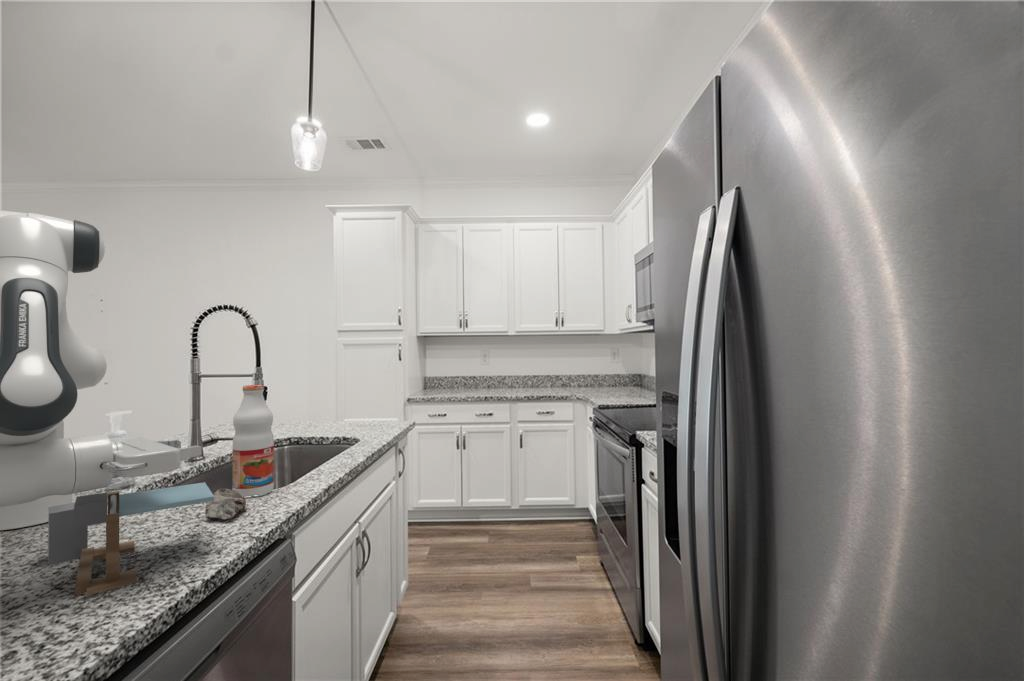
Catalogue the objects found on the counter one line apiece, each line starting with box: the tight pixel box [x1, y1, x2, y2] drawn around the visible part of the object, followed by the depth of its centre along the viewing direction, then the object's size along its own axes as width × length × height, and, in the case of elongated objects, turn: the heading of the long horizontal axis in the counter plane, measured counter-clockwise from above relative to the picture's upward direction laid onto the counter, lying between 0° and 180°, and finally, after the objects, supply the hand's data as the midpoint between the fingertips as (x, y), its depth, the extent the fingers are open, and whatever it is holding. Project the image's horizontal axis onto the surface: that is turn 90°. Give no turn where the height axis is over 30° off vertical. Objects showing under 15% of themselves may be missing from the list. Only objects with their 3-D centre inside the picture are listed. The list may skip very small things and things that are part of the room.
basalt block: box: [47, 503, 89, 566], centre depth 84 cm, size 5×5×9 cm
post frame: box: [74, 490, 138, 596], centre depth 79 cm, size 19×7×11 cm, turn 40°
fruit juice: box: [231, 384, 275, 499], centre depth 121 cm, size 9×9×28 cm
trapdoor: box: [73, 481, 214, 528], centre depth 83 cm, size 13×19×4 cm
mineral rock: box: [204, 487, 247, 520], centre depth 106 cm, size 15×8×4 cm, turn 17°
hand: (189, 447), depth 87 cm, fingers open, 8 cm apart
